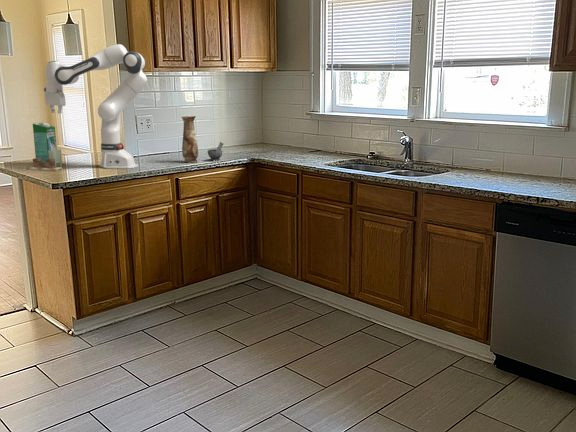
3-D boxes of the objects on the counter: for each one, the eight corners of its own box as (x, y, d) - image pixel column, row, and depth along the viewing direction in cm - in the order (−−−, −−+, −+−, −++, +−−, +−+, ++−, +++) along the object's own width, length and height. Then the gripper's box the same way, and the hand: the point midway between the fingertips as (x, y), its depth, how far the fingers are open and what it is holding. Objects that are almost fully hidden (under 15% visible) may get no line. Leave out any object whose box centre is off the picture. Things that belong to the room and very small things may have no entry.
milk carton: (49, 165, 350) (45, 123, 344) (36, 164, 351) (32, 123, 345) (57, 163, 358) (54, 122, 352) (45, 162, 360) (41, 122, 354)
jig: (62, 168, 337) (61, 158, 335) (55, 170, 330) (54, 160, 329) (33, 167, 339) (32, 157, 338) (26, 169, 332) (25, 159, 331)
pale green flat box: (57, 165, 348) (56, 149, 345) (62, 165, 347) (61, 149, 345) (49, 168, 339) (48, 151, 337) (54, 168, 338) (52, 151, 336)
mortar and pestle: (211, 161, 374) (211, 143, 371) (205, 160, 382) (205, 142, 379) (226, 160, 380) (226, 142, 377) (220, 158, 388) (220, 141, 385)
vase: (200, 162, 369) (199, 115, 362) (184, 163, 364) (183, 116, 357) (195, 160, 378) (194, 114, 371) (179, 161, 373) (178, 115, 366)
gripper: (67, 89, 332) (69, 113, 336) (52, 88, 346) (54, 111, 350) (56, 89, 328) (58, 114, 331) (42, 88, 342) (44, 112, 345)
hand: (56, 113), depth 340 cm, fingers open, 8 cm apart
